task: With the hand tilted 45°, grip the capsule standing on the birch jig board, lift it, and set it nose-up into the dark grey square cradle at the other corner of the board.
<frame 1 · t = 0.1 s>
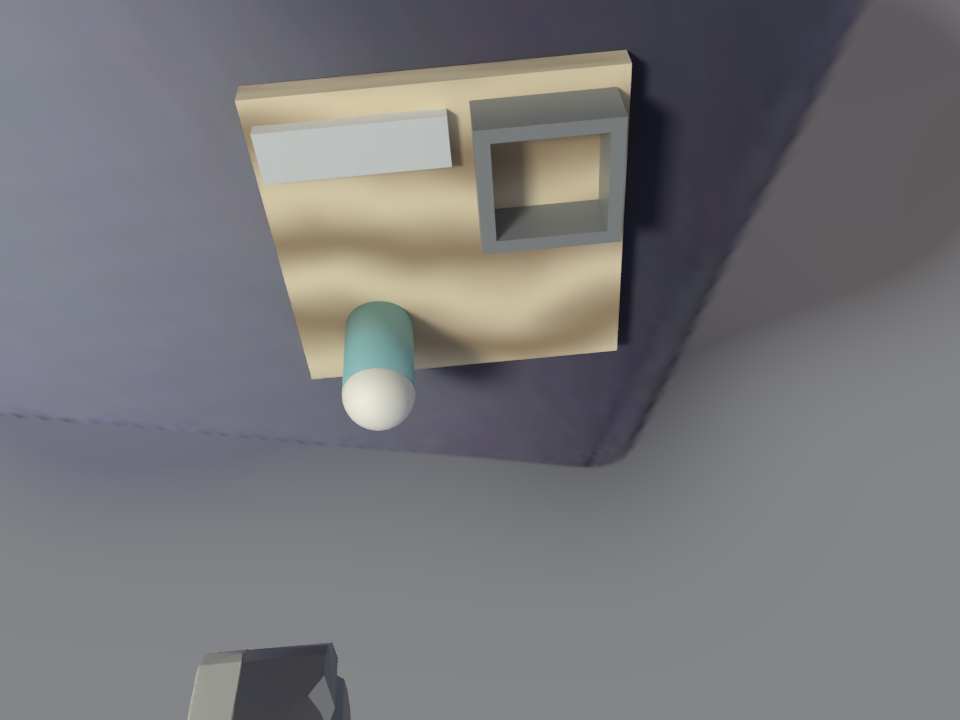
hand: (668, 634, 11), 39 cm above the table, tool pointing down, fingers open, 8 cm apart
jig board: (449, 226, 54), on the table
capsule: (379, 326, 57), point 1 cm above the table, touching jig board
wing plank: (353, 143, 48), resting on jig board
cradle: (544, 158, 50), resting on jig board
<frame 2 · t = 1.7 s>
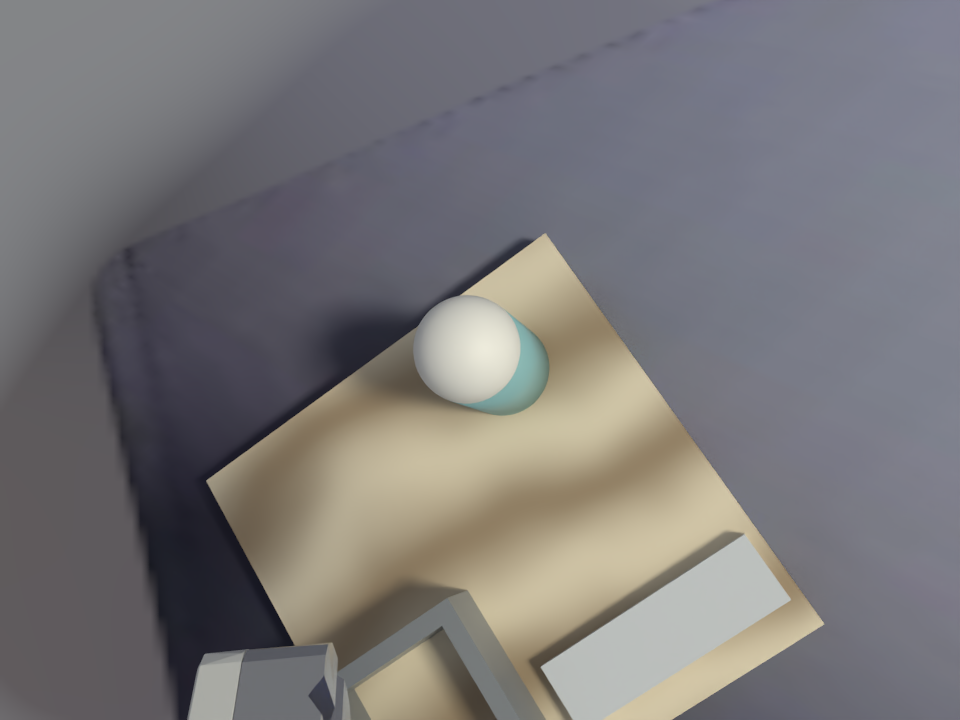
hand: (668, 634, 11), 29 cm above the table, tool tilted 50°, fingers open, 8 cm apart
jig board: (493, 543, 42), on the table
capsule: (503, 368, 41), point 1 cm above the table, touching jig board
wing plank: (663, 631, 38), resting on jig board
cradle: (443, 714, 40), resting on jig board
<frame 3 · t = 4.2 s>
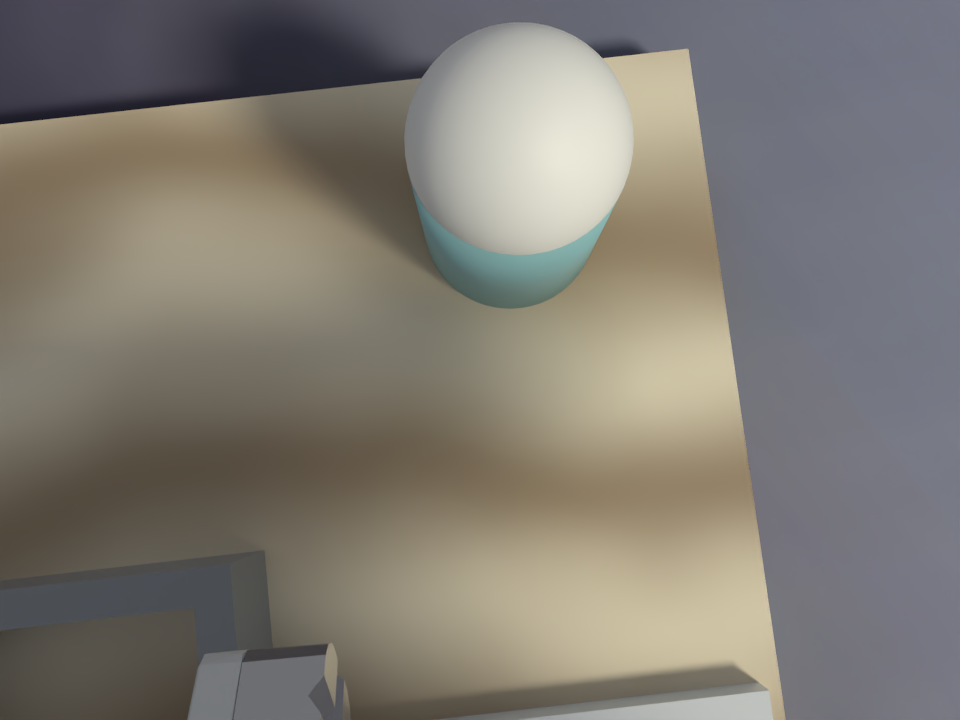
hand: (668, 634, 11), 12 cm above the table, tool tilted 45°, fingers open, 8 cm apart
jig board: (340, 489, 23), on the table
capsule: (509, 224, 23), point 1 cm above the table, touching jig board
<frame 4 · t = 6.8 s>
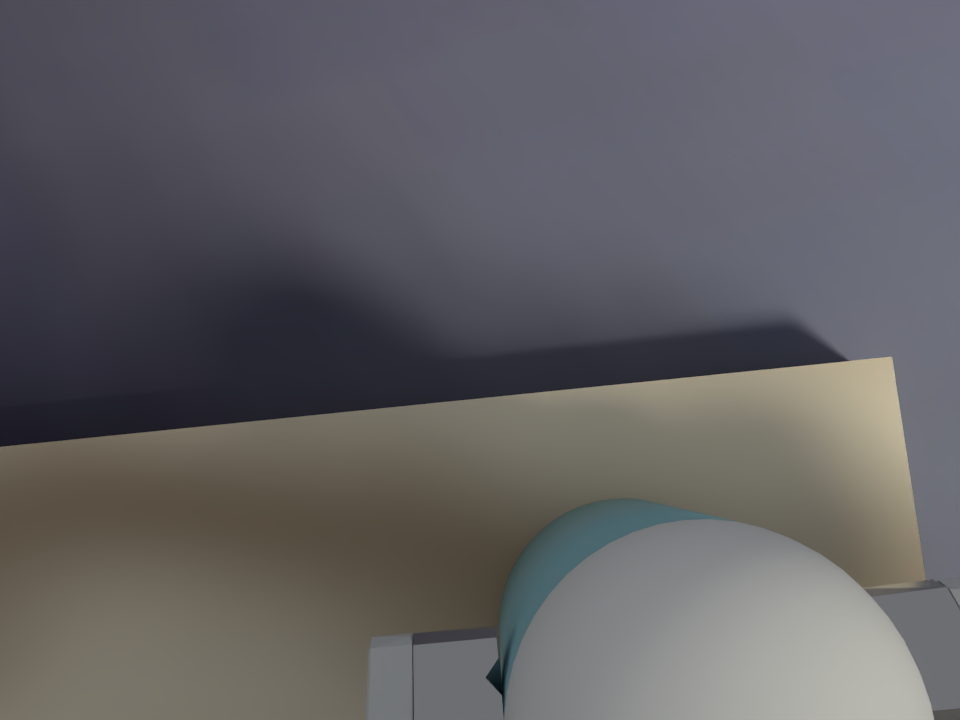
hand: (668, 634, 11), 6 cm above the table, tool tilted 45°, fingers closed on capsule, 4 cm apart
capsule: (626, 627, 15), point 1 cm above the table, touching gripper, jig board
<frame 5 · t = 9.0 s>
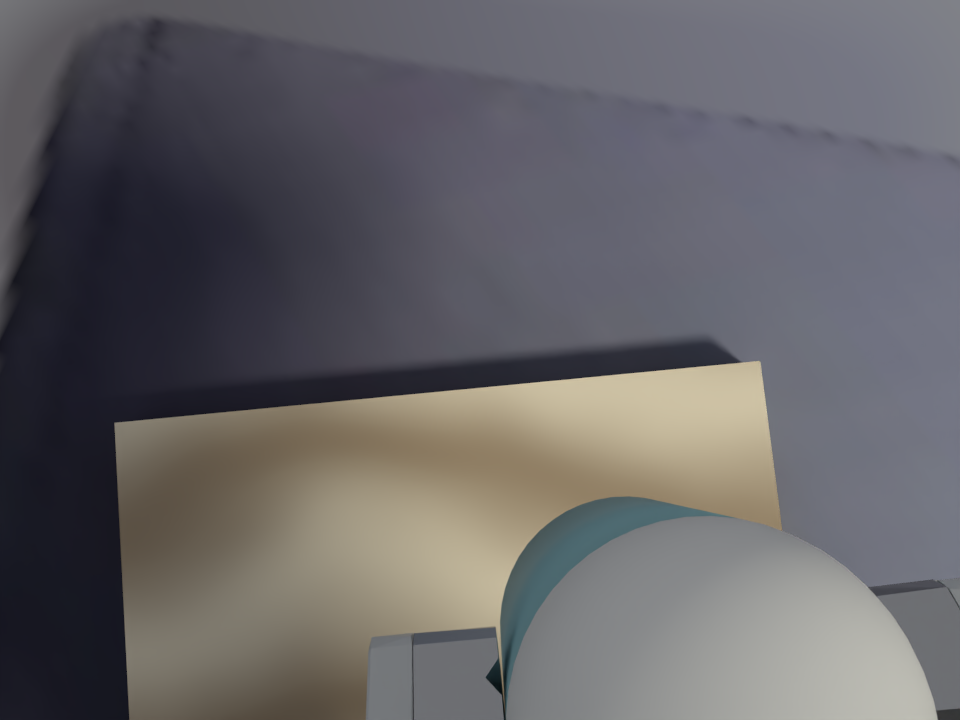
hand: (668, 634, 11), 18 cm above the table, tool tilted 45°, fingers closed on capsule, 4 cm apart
jig board: (468, 713, 29), on the table
capsule: (627, 625, 15), point 14 cm above the table, touching gripper
when the fingers open (7 cm above the table, at t = 12.9 s): capsule drops 2 cm, resting on jig board.
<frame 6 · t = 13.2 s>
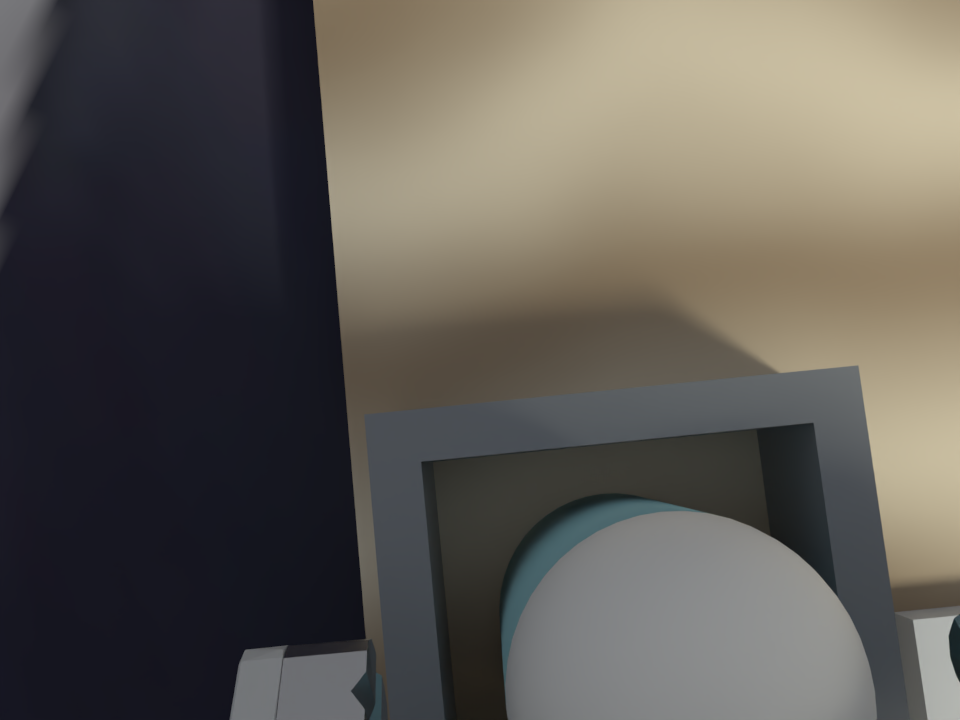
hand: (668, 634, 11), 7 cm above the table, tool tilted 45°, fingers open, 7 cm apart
jig board: (844, 321, 19), on the table
capsule: (615, 610, 17), point 2 cm above the table, touching jig board
cradle: (613, 611, 17), resting on jig board
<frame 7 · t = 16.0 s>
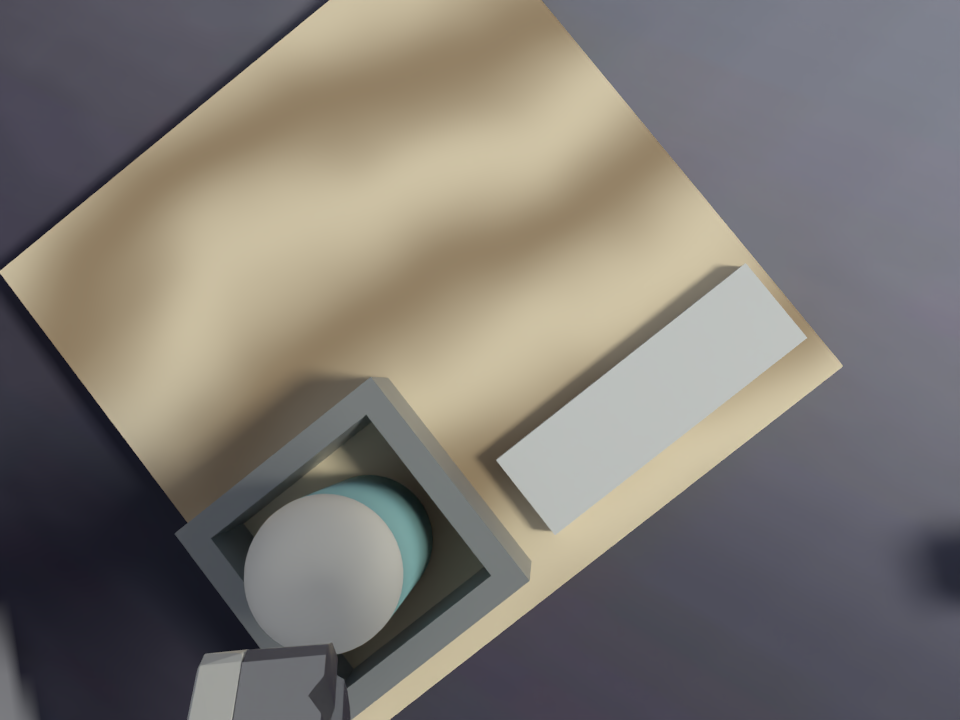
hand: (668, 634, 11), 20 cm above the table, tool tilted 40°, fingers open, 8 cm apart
jig board: (412, 320, 32), on the table
capsule: (369, 539, 30), point 2 cm above the table, touching jig board
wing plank: (647, 399, 30), resting on jig board
cradle: (368, 540, 30), resting on jig board
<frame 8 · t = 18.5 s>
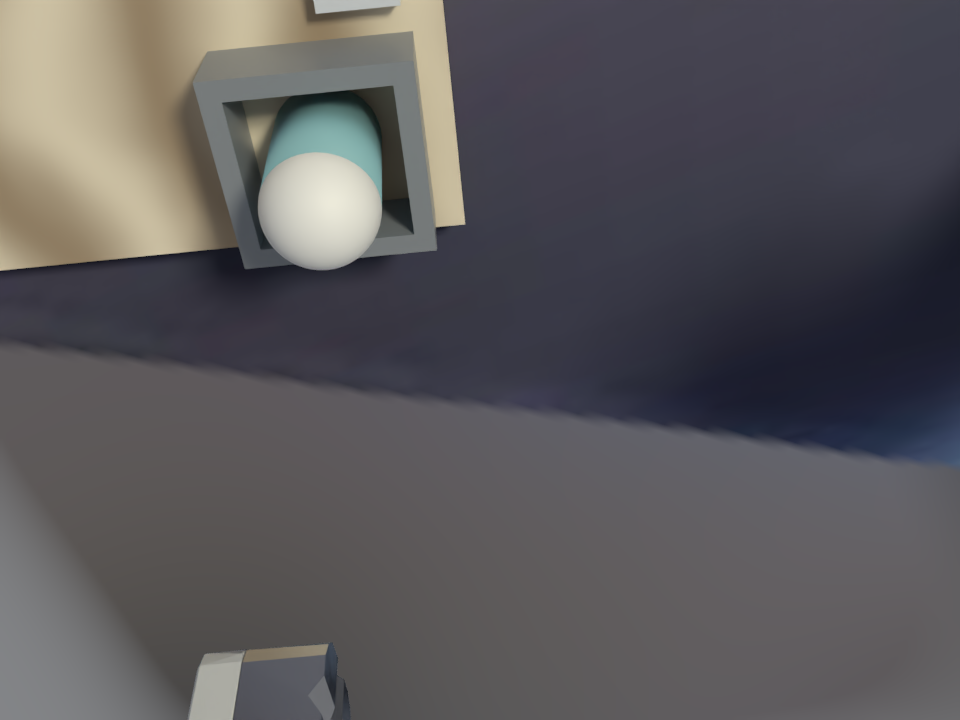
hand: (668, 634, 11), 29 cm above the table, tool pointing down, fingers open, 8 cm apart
capsule: (328, 136, 36), point 2 cm above the table, touching jig board
cradle: (328, 137, 36), resting on jig board
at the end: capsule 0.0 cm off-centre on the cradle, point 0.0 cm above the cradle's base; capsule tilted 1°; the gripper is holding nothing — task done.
